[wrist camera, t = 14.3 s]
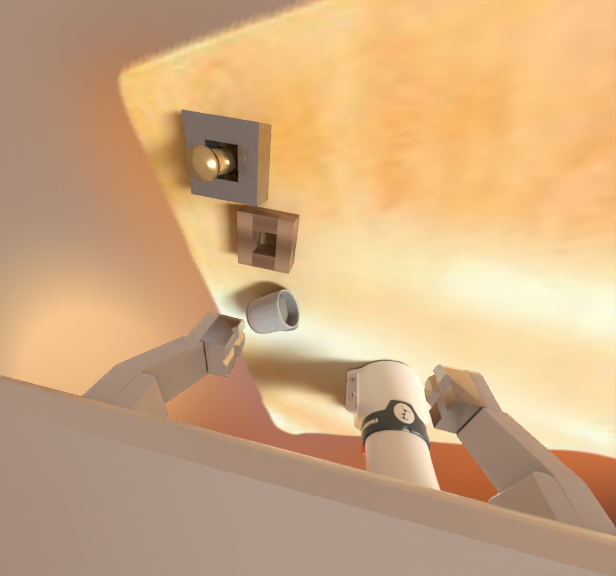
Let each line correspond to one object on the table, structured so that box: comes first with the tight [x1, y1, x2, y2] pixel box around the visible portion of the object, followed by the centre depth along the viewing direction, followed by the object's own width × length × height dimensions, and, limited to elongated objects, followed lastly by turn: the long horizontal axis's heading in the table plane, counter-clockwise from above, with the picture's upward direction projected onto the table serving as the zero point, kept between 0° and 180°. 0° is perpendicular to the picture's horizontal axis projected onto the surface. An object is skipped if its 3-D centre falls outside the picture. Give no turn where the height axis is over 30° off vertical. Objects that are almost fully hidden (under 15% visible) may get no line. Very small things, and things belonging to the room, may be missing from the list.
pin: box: [185, 145, 238, 182], centre depth 31 cm, size 4×4×10 cm
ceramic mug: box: [246, 289, 299, 334], centre depth 46 cm, size 11×8×8 cm
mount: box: [237, 205, 299, 274], centre depth 39 cm, size 9×9×4 cm
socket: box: [182, 110, 271, 206], centre depth 34 cm, size 10×10×5 cm
